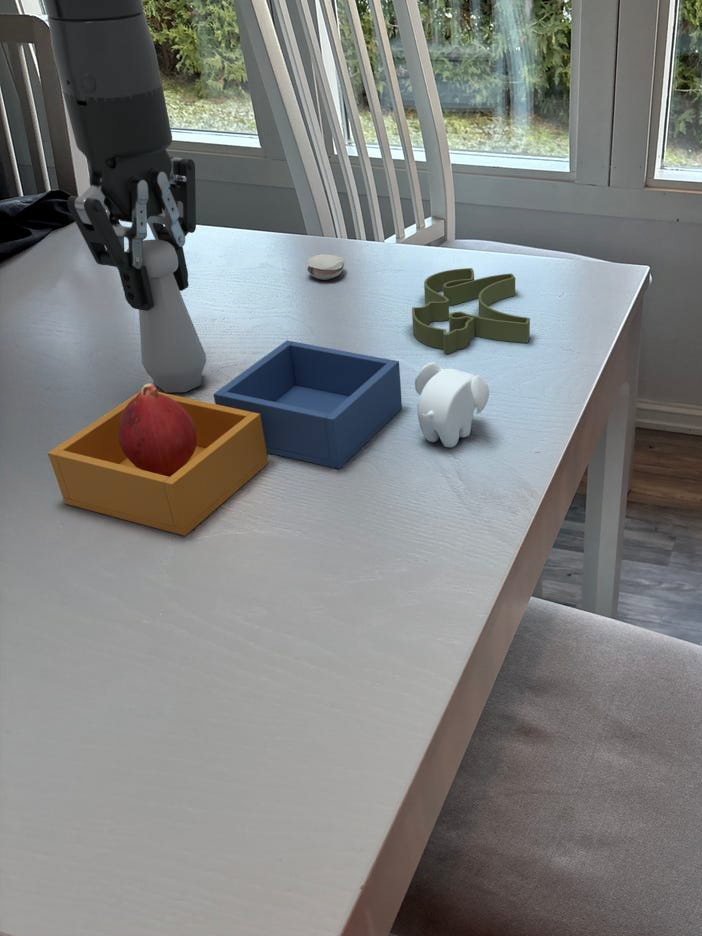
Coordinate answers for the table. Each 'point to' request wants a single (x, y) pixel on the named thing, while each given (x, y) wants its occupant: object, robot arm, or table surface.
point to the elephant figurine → (448, 402)
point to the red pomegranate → (156, 432)
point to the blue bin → (317, 400)
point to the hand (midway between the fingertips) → (160, 297)
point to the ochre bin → (153, 495)
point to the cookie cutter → (463, 325)
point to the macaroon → (325, 266)
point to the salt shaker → (168, 325)
